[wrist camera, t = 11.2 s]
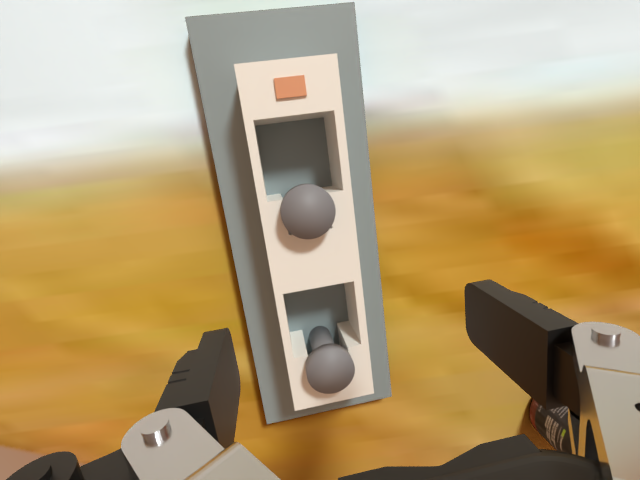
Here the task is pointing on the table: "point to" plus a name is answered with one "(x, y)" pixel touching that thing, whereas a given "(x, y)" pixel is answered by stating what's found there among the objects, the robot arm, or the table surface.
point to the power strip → (332, 247)
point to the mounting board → (282, 175)
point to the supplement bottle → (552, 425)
